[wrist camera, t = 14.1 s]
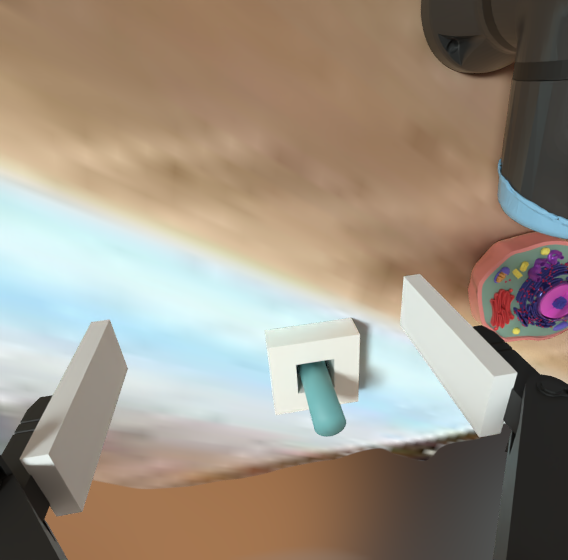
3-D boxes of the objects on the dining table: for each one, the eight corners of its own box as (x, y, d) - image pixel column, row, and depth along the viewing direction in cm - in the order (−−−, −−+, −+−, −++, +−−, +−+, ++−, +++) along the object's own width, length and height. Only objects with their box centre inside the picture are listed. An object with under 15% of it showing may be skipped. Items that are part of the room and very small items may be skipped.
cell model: (490, 197, 55) (550, 224, 45) (581, 245, 61) (650, 278, 51) (424, 293, 61) (463, 335, 51) (512, 327, 67) (562, 370, 58)
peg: (321, 345, 63) (346, 411, 51) (322, 366, 65) (345, 433, 53) (295, 349, 63) (313, 416, 50) (297, 370, 65) (314, 438, 53)
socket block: (351, 317, 61) (360, 334, 57) (350, 382, 68) (358, 401, 64) (264, 330, 60) (267, 348, 56) (272, 395, 67) (275, 415, 63)
